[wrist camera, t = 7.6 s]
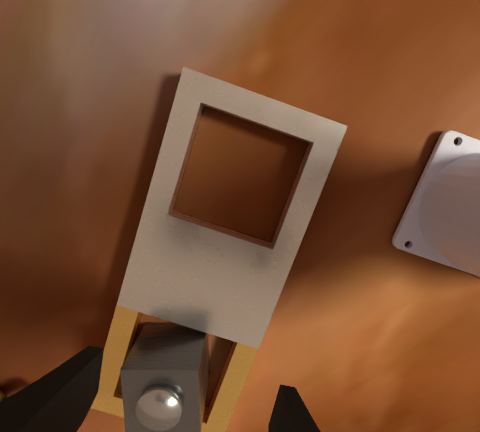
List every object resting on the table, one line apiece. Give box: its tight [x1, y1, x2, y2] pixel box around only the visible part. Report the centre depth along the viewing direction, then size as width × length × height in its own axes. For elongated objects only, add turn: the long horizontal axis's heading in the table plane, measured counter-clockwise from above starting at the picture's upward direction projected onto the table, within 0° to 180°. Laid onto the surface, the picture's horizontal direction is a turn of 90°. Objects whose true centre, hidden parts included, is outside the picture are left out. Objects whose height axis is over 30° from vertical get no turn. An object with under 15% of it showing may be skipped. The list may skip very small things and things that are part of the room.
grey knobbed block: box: [120, 322, 209, 432], centre depth 20 cm, size 4×4×6 cm
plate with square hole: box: [91, 67, 347, 432], centre depth 21 cm, size 10×24×2 cm, turn 161°
